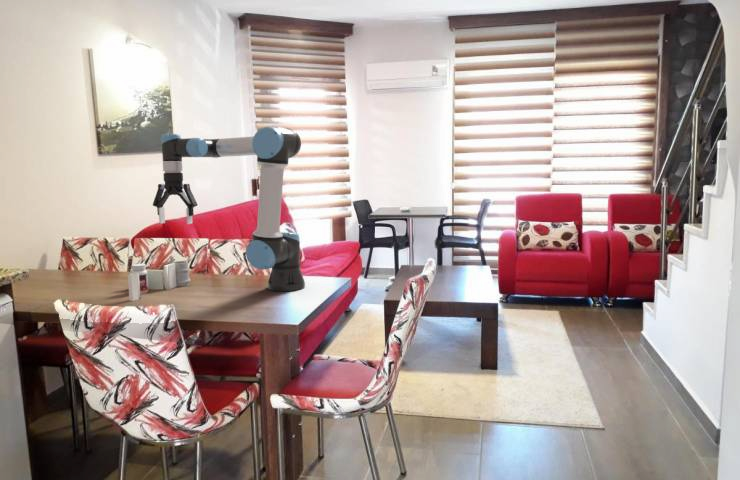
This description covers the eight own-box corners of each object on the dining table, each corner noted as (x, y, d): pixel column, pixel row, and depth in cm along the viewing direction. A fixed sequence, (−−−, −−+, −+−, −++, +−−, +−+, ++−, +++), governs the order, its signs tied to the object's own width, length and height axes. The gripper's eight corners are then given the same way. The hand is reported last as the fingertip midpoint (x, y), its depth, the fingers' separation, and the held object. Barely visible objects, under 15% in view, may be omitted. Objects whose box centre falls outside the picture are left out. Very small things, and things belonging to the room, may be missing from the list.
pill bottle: (132, 294, 227) (130, 266, 226) (132, 291, 233) (130, 264, 231) (148, 293, 229) (147, 265, 228) (148, 290, 235) (146, 262, 233)
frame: (176, 287, 240) (175, 263, 239) (132, 301, 216) (131, 274, 215) (173, 286, 241) (171, 263, 239) (129, 300, 217) (127, 274, 215)
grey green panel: (161, 290, 234) (160, 271, 233) (130, 289, 237) (128, 270, 236) (164, 289, 237) (163, 269, 236) (133, 288, 239) (131, 269, 238)
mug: (179, 287, 239) (177, 259, 238) (162, 284, 246) (160, 256, 245) (194, 284, 245) (193, 256, 244) (177, 281, 252) (176, 254, 251)
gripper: (204, 171, 235) (207, 223, 238) (154, 172, 243) (157, 222, 246) (193, 172, 228) (196, 225, 231) (141, 172, 236) (145, 223, 239)
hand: (176, 223), depth 238 cm, fingers open, 13 cm apart
